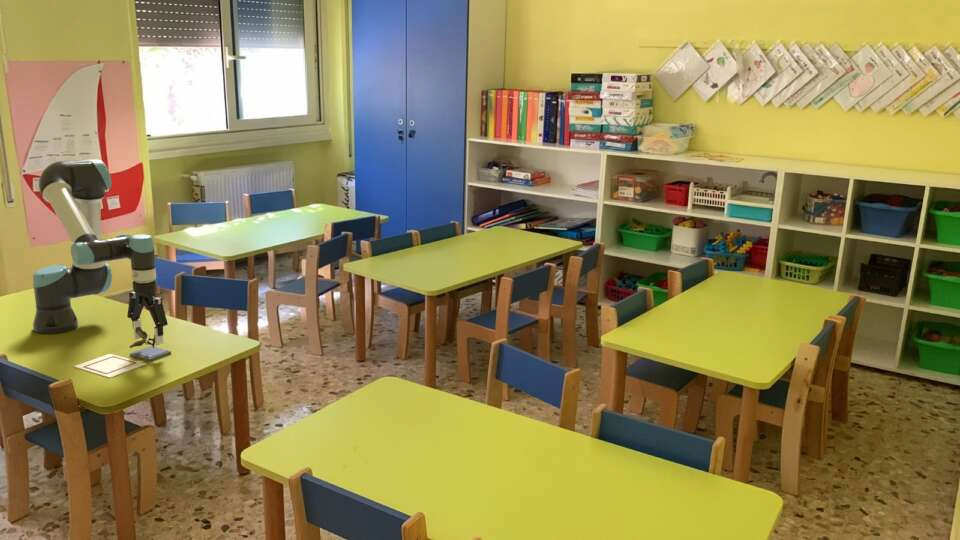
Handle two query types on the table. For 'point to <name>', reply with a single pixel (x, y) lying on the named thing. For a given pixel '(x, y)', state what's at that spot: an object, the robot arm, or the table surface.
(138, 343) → the eagle figurine
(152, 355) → the ink pad
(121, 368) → the print sheet
